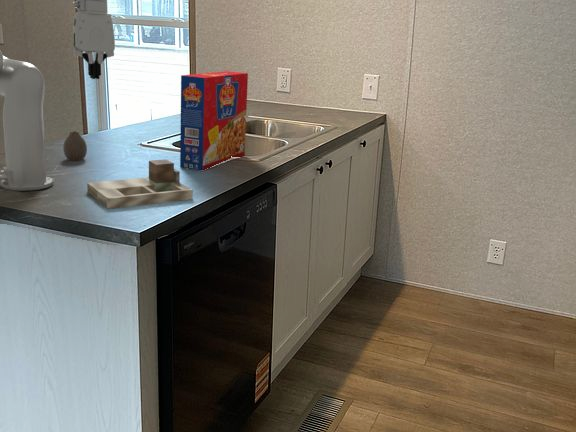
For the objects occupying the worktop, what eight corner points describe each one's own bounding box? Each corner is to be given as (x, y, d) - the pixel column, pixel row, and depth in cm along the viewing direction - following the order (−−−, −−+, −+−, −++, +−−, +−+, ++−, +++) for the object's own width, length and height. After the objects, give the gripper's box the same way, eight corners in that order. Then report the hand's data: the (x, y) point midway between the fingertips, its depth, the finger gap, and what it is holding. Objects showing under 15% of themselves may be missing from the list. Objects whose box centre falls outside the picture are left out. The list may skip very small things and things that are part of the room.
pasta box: (202, 171, 193) (204, 77, 185) (180, 167, 196) (181, 75, 187) (244, 156, 218) (247, 73, 209) (224, 153, 220) (226, 71, 212)
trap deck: (108, 208, 151) (107, 186, 149) (87, 192, 163) (86, 171, 161) (192, 199, 163) (192, 178, 161) (167, 184, 175) (167, 165, 173)
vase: (59, 160, 195) (57, 132, 193) (73, 156, 201) (72, 129, 199) (77, 163, 193) (76, 134, 190) (91, 159, 199) (90, 131, 197)
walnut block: (156, 183, 166) (156, 164, 164) (148, 178, 170) (148, 160, 168) (173, 181, 169) (173, 163, 167) (166, 177, 173) (166, 159, 171)
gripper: (67, 6, 160) (70, 79, 166) (125, 9, 168) (126, 80, 174) (59, 5, 166) (63, 76, 172) (115, 9, 174) (117, 77, 180)
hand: (94, 78), depth 173 cm, fingers closed
